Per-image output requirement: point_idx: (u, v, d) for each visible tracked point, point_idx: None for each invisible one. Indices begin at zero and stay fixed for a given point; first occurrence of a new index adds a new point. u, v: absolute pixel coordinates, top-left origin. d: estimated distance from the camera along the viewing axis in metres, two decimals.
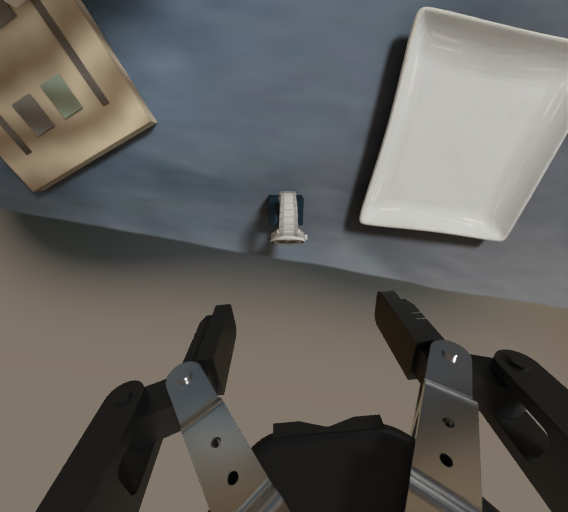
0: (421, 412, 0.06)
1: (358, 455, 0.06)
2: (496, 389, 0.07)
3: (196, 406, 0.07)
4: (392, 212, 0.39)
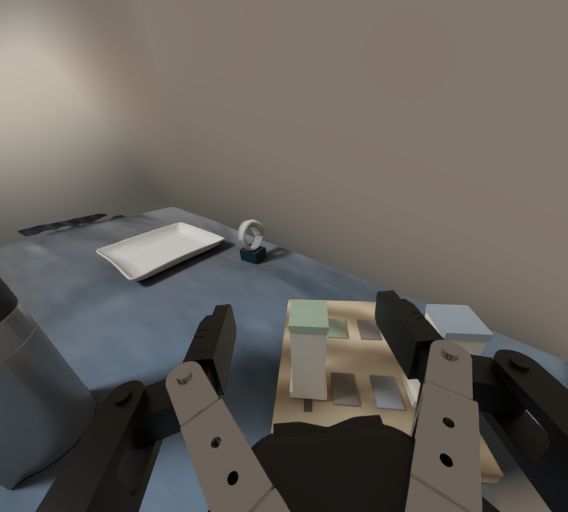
0: (421, 412, 0.06)
1: (358, 455, 0.06)
2: (496, 389, 0.07)
3: (196, 406, 0.07)
4: (208, 241, 0.72)
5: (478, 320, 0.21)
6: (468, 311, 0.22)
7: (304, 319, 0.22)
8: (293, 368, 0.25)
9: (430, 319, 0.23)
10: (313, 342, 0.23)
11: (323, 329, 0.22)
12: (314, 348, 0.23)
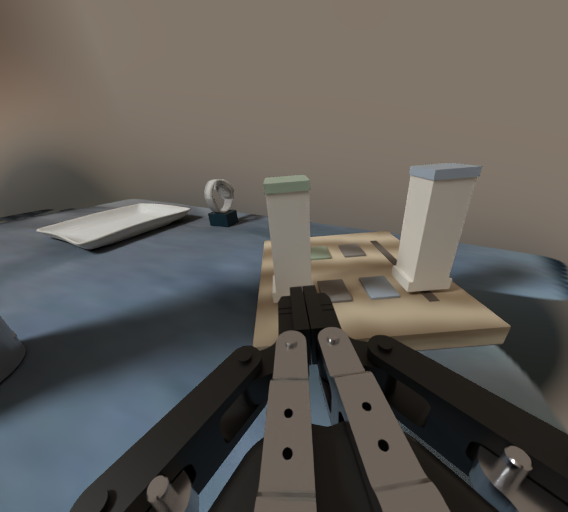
0: (347, 413, 0.06)
1: (358, 455, 0.06)
2: (365, 368, 0.09)
3: (289, 372, 0.08)
4: None
5: (464, 164, 0.20)
6: (452, 163, 0.21)
7: (281, 181, 0.19)
8: (274, 254, 0.21)
9: (415, 178, 0.21)
10: (294, 208, 0.20)
11: (304, 184, 0.19)
12: (295, 218, 0.20)
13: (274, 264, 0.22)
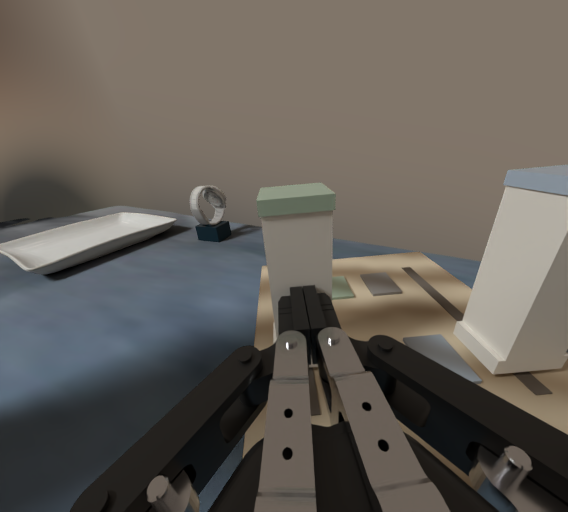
0: (347, 413, 0.06)
1: (358, 455, 0.06)
2: (365, 368, 0.09)
3: (289, 372, 0.08)
4: (157, 226, 0.57)
5: None
6: None
7: (286, 194, 0.12)
8: (275, 307, 0.14)
9: (522, 192, 0.12)
10: (308, 238, 0.12)
11: (325, 201, 0.11)
12: (310, 253, 0.12)
13: (276, 320, 0.14)
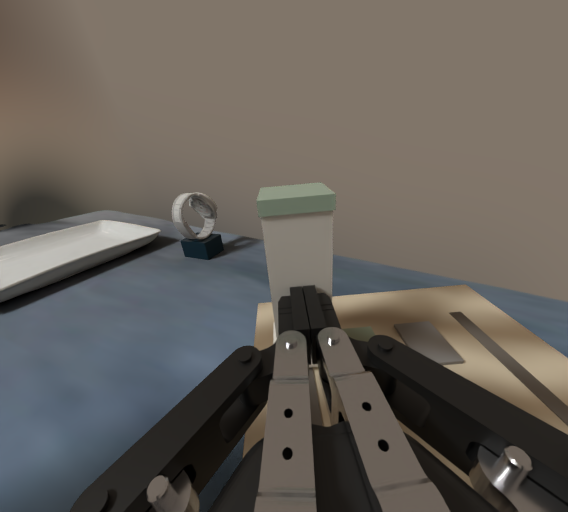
0: (347, 413, 0.06)
1: (358, 455, 0.06)
2: (365, 368, 0.09)
3: (289, 372, 0.08)
4: (139, 237, 0.50)
5: None
6: None
7: (287, 194, 0.12)
8: (276, 307, 0.14)
9: None
10: (308, 238, 0.12)
11: (325, 201, 0.11)
12: (310, 253, 0.12)
13: (276, 320, 0.14)
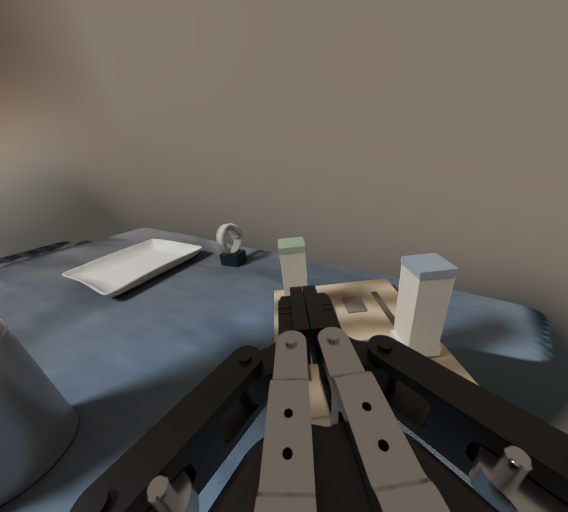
0: (347, 413, 0.06)
1: (358, 455, 0.06)
2: (365, 368, 0.09)
3: (289, 372, 0.08)
4: (186, 252, 0.71)
5: (445, 261, 0.24)
6: (436, 256, 0.25)
7: (288, 245, 0.33)
8: (285, 287, 0.35)
9: (406, 269, 0.25)
10: (296, 260, 0.33)
11: (302, 248, 0.32)
12: (297, 266, 0.33)
13: (285, 293, 0.35)
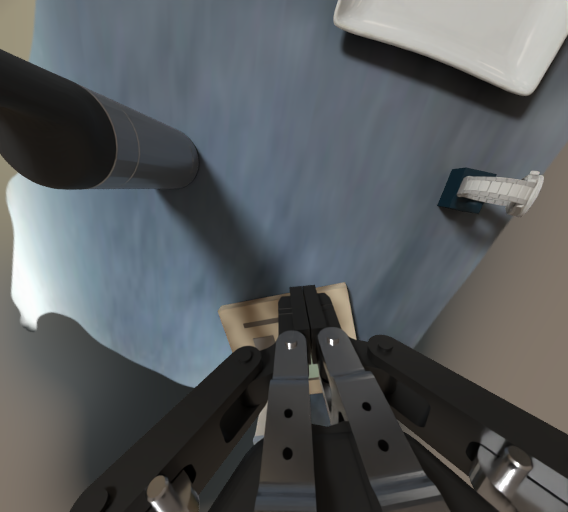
0: (347, 413, 0.06)
1: (358, 455, 0.06)
2: (365, 368, 0.09)
3: (289, 372, 0.08)
4: (532, 43, 0.29)
5: None
6: None
7: None
8: None
9: None
10: None
11: None
12: None
13: None
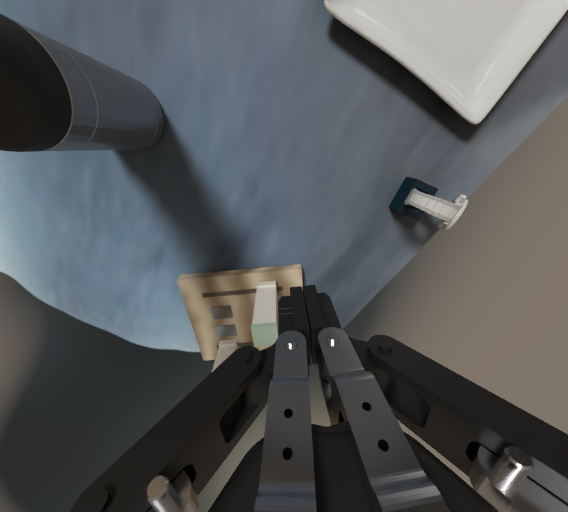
0: (347, 413, 0.06)
1: (358, 455, 0.06)
2: (365, 368, 0.09)
3: (289, 372, 0.08)
4: (490, 75, 0.32)
5: None
6: None
7: (258, 335, 0.34)
8: (255, 302, 0.39)
9: None
10: None
11: (254, 343, 0.35)
12: None
13: (255, 298, 0.40)
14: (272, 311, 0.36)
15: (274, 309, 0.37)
